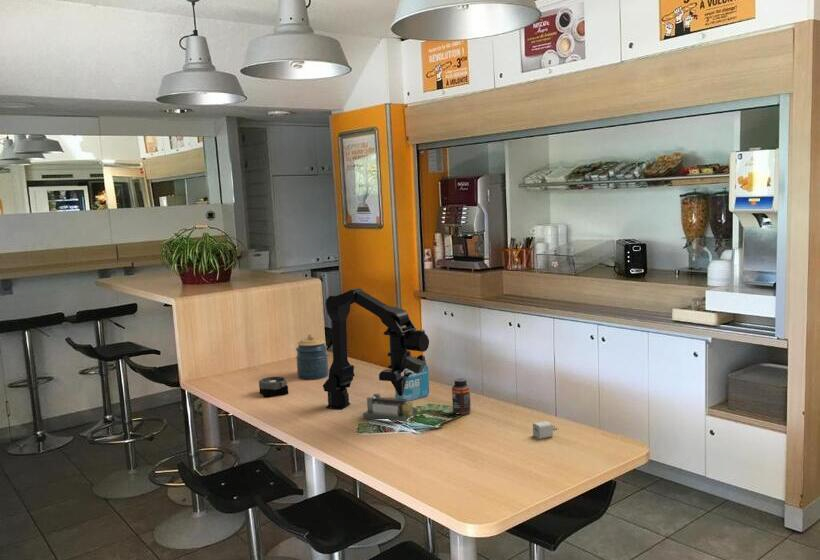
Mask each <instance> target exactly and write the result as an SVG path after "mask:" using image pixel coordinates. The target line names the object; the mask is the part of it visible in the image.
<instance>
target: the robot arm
mask: <svg viewBox="0 0 820 560" xmlns="http://www.w3.org/2000/svg"><path fill="white" fill-rule="evenodd" d="M354 303H355V304H357V305H358V306H359V307H362V308H364V310H367V311H368V312H369V313H372V314H373V315H374V316H377V317H378V318H379V319H380V321H381V323H382V324H383V325H384V326H386V327H387V329H386V330H385V331H384V332H383V336H388V339H389V352H387V357H390V360H389V361H390V364H389V365H388V368H386V369H384V370H382V371H380V373H378V379H379V381H384V382H390V383H391V384H392V386H393V387H394V390H395V389H396V391H397V393H398V395H399V396H402V395H403V392H404V388H405V384H406V380H407V378H408V377H409V376H410V375H411V374H412V373H409V372H408V370H407V369H409V370H411V371H413V372H414V373H417V374H419V373H420V372H421V371H423V368H424V366H425V365H427V361H426V356H425V355H423V354H419V355H418V356H416V355H415V356H412V352H411V351H415V352H423V353H425V352H427V350H428V348H429V346H430V339H429V336H428V335H427V334H426V331H425V329H417V327H416V326H415V324H414V323H413V321H412V320H411V318H410V315H409V313H408V312H407V311H406V310H405V309H402V308H400V307H397V306H391V305H387V304H386V303H384V302H382V301H381V300H379V299H377V298H376V297H375V296H372V295H370V294H369V293H368V292H366V291H364V290H363V289H362V288H360V287H358V288H357V287H356V288H353V289H349V290H348V291H346V292H343V293H339V294H338V293H337V294H333V295H330V296H328V297H327V298H326V299H325V307H326V313H327V316H328V317H329V319H330V320H331V333H332V334H331V335H332V336H331V338H332V363H331V365H330V368H329V373H328V378H327V379H326V381H325V382H324V383H323V384H322V387H323V391H324V392H327V405H326V406H325V408H326V409H335V410H343V409H344V408H346V407H348V406H350V405H351V402H350V397H349V392H348V388H350V387H351V384H352V381H353V380H354V377H356V376H355V372H354V370H355V366H354V364H351V363H350V362H349V360H348V359H349V358H348V340H347V339H348V335H347V333H348V332H347V319H348V316H349V314H350V313H351V306H352V304H354Z"/></svg>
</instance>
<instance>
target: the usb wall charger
mask: <svg viewBox="0 0 820 560" xmlns="http://www.w3.org/2000/svg"><path fill="white" fill-rule="evenodd" d="M558 430H559V427H556V425H553V424H552V423H550V422H549V421H548V420H545V421H539V422H538V421H537V422H533V423H532V435H533V437H535V438H536V439H538V440H541V439H547V438H553V435H554V434H553V433H554V432H555V431H558Z"/></svg>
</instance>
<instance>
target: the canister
mask: <svg viewBox="0 0 820 560" xmlns="http://www.w3.org/2000/svg"><path fill="white" fill-rule="evenodd" d="M325 343H326V341H325V340H324V339H322V338H321V337H315V335H314V334H312V333H309V334H308V335H307V338H306V337H305V338H301V339H300V341H298V342H297V347H295V351H296V353H297V354H296V356H295V358H296V366H297V367H296V368H297V371H296V373H297V377H298V378H299V379H301V380H319V379H322V378H326V377H329V369H330V368H329V360H328V358H329V357H328V356H329V354H328V353H327V349H328V345H326V344H325Z"/></svg>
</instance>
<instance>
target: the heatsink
mask: <svg viewBox="0 0 820 560" xmlns="http://www.w3.org/2000/svg"><path fill="white" fill-rule="evenodd" d="M373 396H377V397H381V393H373ZM366 405H367V406H366V407H367V410H366V411H364V412H363V414H362V415H363V418H362V419H363V420H367V421H368V420H369V421H373V420H372V419H389V420H399V421H406V420H407V419H408V418H410V417H411V416H413V415H414V414H415V413H417V414H418V408H415V407H414V406H413V405H414V404H413V402H410V401H407V402H406V403H394V402H379V401H374V398H372V397H370V396H369V397H367V398H366Z"/></svg>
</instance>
